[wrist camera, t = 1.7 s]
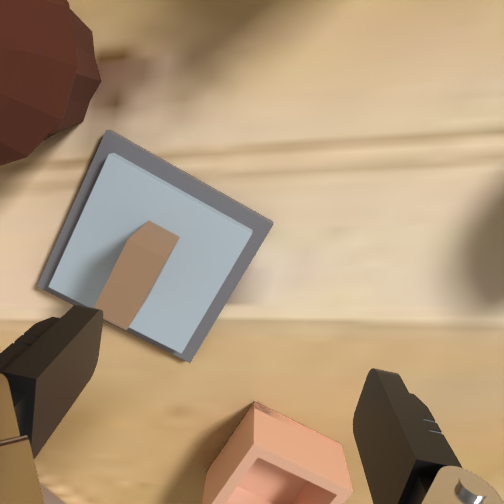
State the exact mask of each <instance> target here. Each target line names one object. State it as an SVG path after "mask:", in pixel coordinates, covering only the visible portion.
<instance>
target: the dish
mask: <svg viewBox="0 0 504 504" xmlns="http://www.w3.org/2000/svg"><path fill="white" fill-rule="evenodd" d="M352 493H353V489H352V485H351V481H350V477H349V473H348V469H347V465H346V461H345V457H344V453H343V449H342V446H341V444H339V443H337V442H335V441H333V440H331V439H329V438H327V437H325V436H323V435H321V434H319V433H317V432H315V431H313V430H311V429H309V428H307V427H305V426H303V425H301V424H299V423H297V422H295V421H293V420H291V419H289V418H287V417H285V416H283V415H281V414H279V413H277V412H275V411H273V410H271V409H269V408H267V407H265V406H263V405H261V404H259V403H257V402H255V401H254V403H253V404H252V406H251V407H250V409H249V410H248V412H247V413H246V415H245V416H244V418H243V419H242V421H241V422H240V424H239V425H238V426H237V428H236V429H235V431H234V432H233V434H232V435H231V437H230V438H229V440H228V441H227V443H226V444H225V446H224V447H223V449H222V450H221V452H220V453H219V455H218V456H217V458H216V459H215V460H214V462H213V463H212V465H211V466H210V468H209V469H208V471H207V472H206V479H205V485H204V492H203V498H202V504H344V502H345V501H346V500H347V499H348V497H349V496H350V495H351V494H352Z"/></svg>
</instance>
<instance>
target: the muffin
mask: <svg viewBox="0 0 504 504" xmlns="http://www.w3.org/2000/svg"><path fill="white" fill-rule="evenodd" d="M100 82H101V78H100V75H99V71H98V67H97V64H96V60H95V56H94V46H93V35H92V31H91V30H90V29H89V28H88V27H87V26H86V25H85V24H84V23H83V22H82V21H81V20H80V19H79V18H78V17H77V15H76V14H75V13H74V12H73V11H72V10H71V9H70V8H69V3H68V1H67V0H0V165H3V164H6V163H10V162H13V161H16V160H19V159H22V158H25V157H27V156H28V155H29V154H30V153H31V152H32V151H33V150H34V149H35V148H36V147H37V146H38V145H39V144H40V143H41V142H42V141H43V140H45V139H47V138H49V137H50V136H52V135H53V134H55V133H57V132H58V131H60V130H63V129H65V128H68V127H70V126H73V125H75V124H78V123H80V122H83V120H84V117H85V114H86V111H87V108H88V105H89V102H90V100H91V98H92V96H93V95H94V93H95V91H96V89H97V88H98V86H99V84H100Z"/></svg>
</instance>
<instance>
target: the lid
mask: <svg viewBox="0 0 504 504" xmlns="http://www.w3.org/2000/svg"><path fill="white" fill-rule="evenodd" d="M251 235H252V229H250V228H248V227H246V226H245V225H243V224H241V223H239V222H237V221H236V220H234V219H232V218H230V217H228V216H227V215H225V214H223V213H221V212H220V211H218V210H216V209H214V208H212V207H211V206H209V205H207V204H205V203H203V202H202V201H200V200H198V199H196V198H194V197H193V196H191V195H189V194H187V193H185V192H184V191H182V190H180V189H178V188H176V187H175V186H173V185H171V184H169V183H168V182H166V181H164V180H162V179H160V178H159V177H157V176H155V175H153V174H151V173H150V172H148V171H146V170H144V169H142V168H141V167H139V166H137V165H135V164H133V163H132V162H130V161H128V160H126V159H124V158H123V157H121V156H119V155H117V154H116V153H111V154H109V155H108V157H107V159H106V161H105V163H104V166H103V168H102V170H101V172H100V174H99V177H98V179H97V181H96V183H95V185H94V188H93V190H92V192H91V194H90V196H89V199H88V201H87V203H86V205H85V207H84V210H83V212H82V214H81V216H80V218H79V221H78V223H77V225H76V227H75V229H74V232H73V234H72V236H71V238H70V240H69V243H68V245H67V247H66V249H65V251H64V254H63V256H62V258H61V260H60V262H59V265H58V267H57V269H56V271H55V274H54V276H53V278H52V280H51V282H50V285H49V288H51V289H53V290H55V291H57V292H59V293H61V294H63V295H65V296H67V297H69V298H71V299H73V300H75V301H77V302H79V303H81V304H83V305H85V306H87V307H91V308H96V309H101V310H102V311H103V319H105V320H107V321H109V322H111V323H113V324H115V325H117V326H119V327H121V328H123V329H125V330H127V329H128V327H129V328H131V329H133V330H135V331H137V332H139V333H141V334H143V335H145V336H147V337H149V338H151V339H153V340H155V341H157V342H159V343H161V344H163V345H165V346H167V347H169V348H171V349H173V350H175V351H177V352H179V353H181V354H182V352H183V350H184V349H185V347H186V345H187V344H188V342H189V340H190V338H191V337H192V335H193V333H194V332H195V330H196V328H197V327H198V325H199V323H200V322H201V320H202V318H203V316H204V315H205V313H206V311H207V310H208V308H209V306H210V305H211V303H212V301H213V299H214V298H215V296H216V294H217V293H218V291H219V289H220V288H221V286H222V284H223V282H224V281H225V279H226V277H227V276H228V274H229V272H230V271H231V269H232V267H233V266H234V264H235V262H236V260H237V259H238V257H239V255H240V254H241V252H242V250H243V249H244V247H245V245H246V243H247V242H248V240H249V238H250V237H251Z"/></svg>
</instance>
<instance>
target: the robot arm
mask: <svg viewBox="0 0 504 504" xmlns="http://www.w3.org/2000/svg"><path fill="white" fill-rule="evenodd" d="M102 324H103V311H102V310H101V309H96V308H91V307H87V306H82V305H74V306H73V307H72V308H71V309H70V310H69V311H68V312H67V313H66V314H65V315H64V316H62V317H61V318H56V317H51V318H48V319H46V320H43V321H41V322H38V323H36V324H34V325H33V326H32V327H31V328H30V329H29V330H27V331H26V332H25V333H24V335H22V336H20V337H19V338H18V339H17V340H16V341H15V343H14V344H13V343H12V344H11V345H10V346H9V347H7V348H6V349H5V350H4V351H3V352H2V353H0V504H44V500H43V496H42V492H41V488H40V483H39V479H38V475H37V471H36V467H35V463H34V459H35V457H36V456H37V455H38V453H39V452H40V450H41V449H42V447H43V446H44V445H45V443H46V442H47V440H48V439H49V437H50V436H51V435H52V433H53V432H54V430H55V429H56V427H57V426H58V425H59V423H60V422H61V420H62V419H63V417H64V416H65V415H66V413H67V412H68V410H69V409H70V407H71V406H72V405H73V403H74V402H75V400H76V399H77V397H78V396H79V394H80V393H81V392H82V390H83V389H84V387H85V386H86V384H87V383H88V382H89V380H90V379H91V377H92V375H93V373H94V371H95V368H96V365H97V361H98V356H99V348H100V340H101V332H102ZM441 432H442V431H441V430H440V428H439V426H438V424H437V423H435V419H434V418H433V416H432V414H431V412H430V411H429V409H428V407H427V406H426V405H425V404H424V403H423V402H422V401H421V400H419V399H418V398H417V397H416V396H415V395H414V394H410V393H409V392H408V390H407V388H406V386H405V384H404V383H403V381H402V379H401V377H400V375H399V374H397V373H393V372H388V371H383V370H379V369H374V368H373V369H371V370H370V371H369V373H368V375H367V378H366V381H365V384H364V387H363V390H362V393H361V395H360V398H359V401H358V404H357V407H356V410H355V413H354V418H353V433H354V437H355V440H356V444H357V447H358V451H359V454H360V458H361V461H362V465H363V468H364V472H365V475H366V479H367V482H368V486H369V489H370V493H371V496H372V500H373V503H374V504H504V502H503V500H502V498H501V496H500V495H499V494H498V493H497V491H496V490H495V489H494V488H493V487H492V486H491V485H490V484H489V483H488V482H486V481H485V480H484V479H482V478H481V477H479V476H478V475H476V474H474V473H473V472H471V471H469V470H466V469H464V468H462V466H461V464H460V463H459V461H458V459H457V457H456V456H455V454H454V452H453V450H452V449H451V447H450V445H449V444H448V442H447V440H446V438H445V437H444V435H443V434H441Z"/></svg>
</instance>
